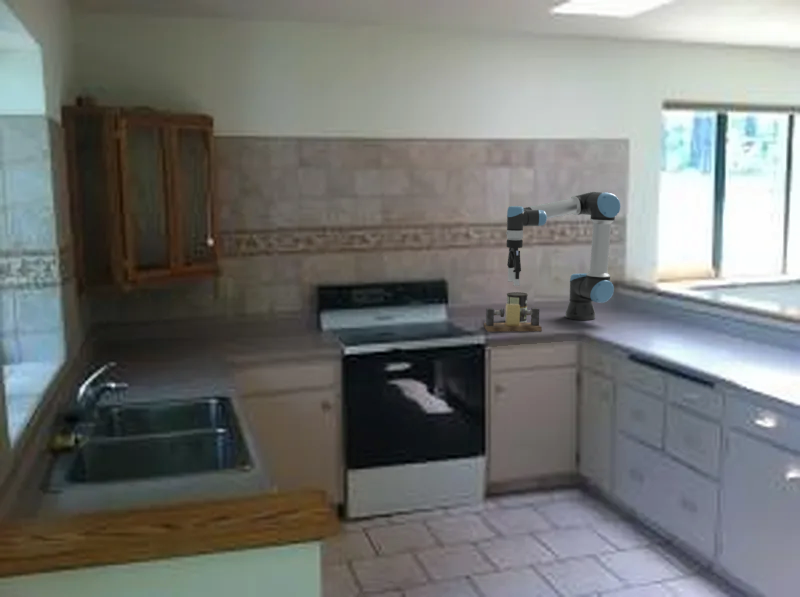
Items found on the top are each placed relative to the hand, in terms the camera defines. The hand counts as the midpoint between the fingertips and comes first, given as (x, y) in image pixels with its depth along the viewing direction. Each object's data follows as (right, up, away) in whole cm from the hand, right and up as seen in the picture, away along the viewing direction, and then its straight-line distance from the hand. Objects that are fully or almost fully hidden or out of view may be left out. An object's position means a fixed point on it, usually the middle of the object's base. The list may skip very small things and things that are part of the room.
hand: (513, 283), depth 382 cm
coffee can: (+5, -19, +23) cm, 30 cm away
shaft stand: (0, -22, +4) cm, 22 cm away
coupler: (0, -20, +3) cm, 20 cm away
